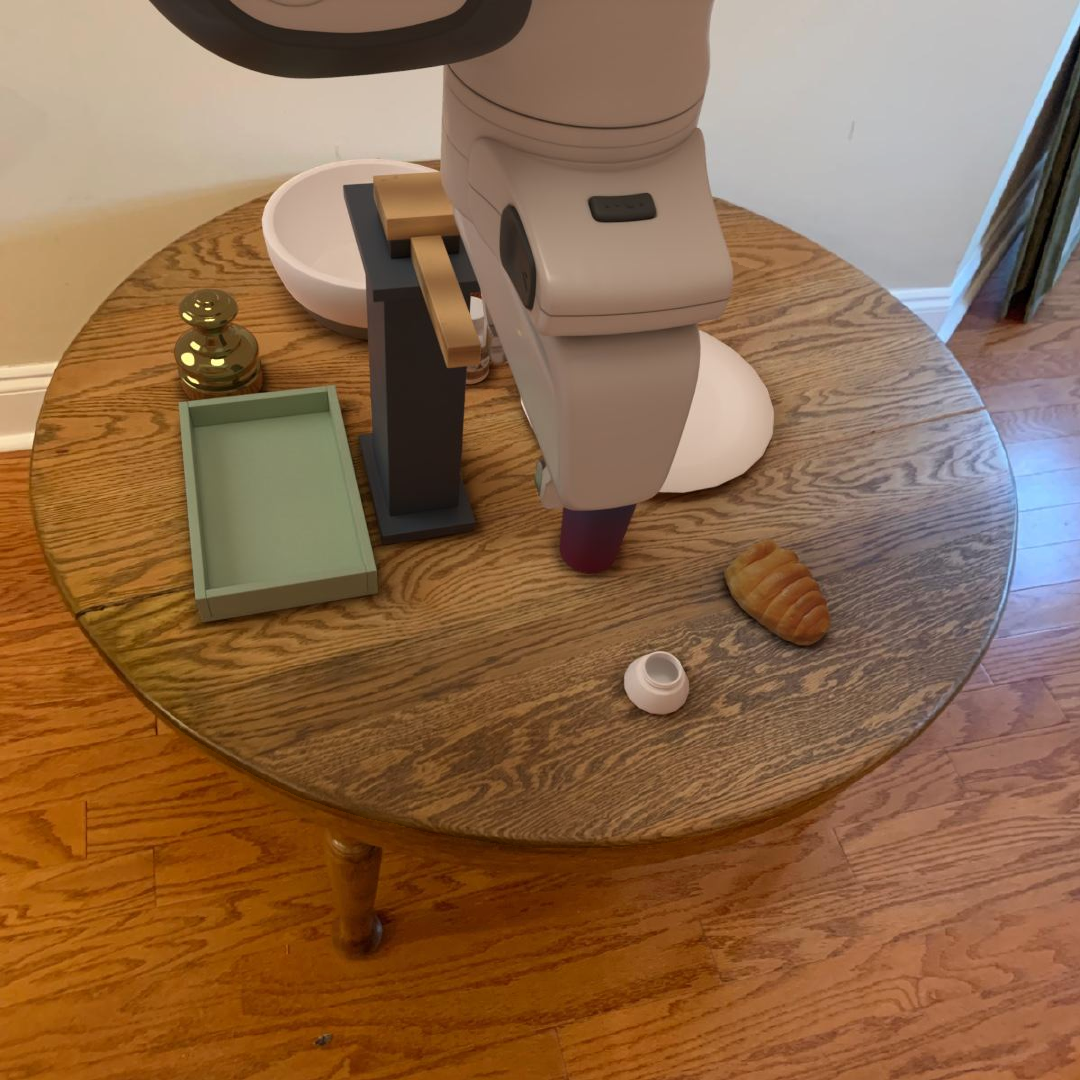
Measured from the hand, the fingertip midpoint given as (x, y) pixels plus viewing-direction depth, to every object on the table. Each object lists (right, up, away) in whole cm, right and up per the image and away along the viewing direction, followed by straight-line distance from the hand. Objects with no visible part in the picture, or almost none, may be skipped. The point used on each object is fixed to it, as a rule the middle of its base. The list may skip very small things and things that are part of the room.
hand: (528, 420), depth 45 cm
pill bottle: (-7, +11, +51) cm, 53 cm away
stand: (-11, -1, +41) cm, 42 cm away
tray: (-22, -3, +38) cm, 44 cm away
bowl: (-16, +21, +58) cm, 63 cm away
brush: (-6, +11, +17) cm, 21 cm away
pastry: (+20, -11, +37) cm, 44 cm away
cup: (+5, -7, +38) cm, 39 cm away
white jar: (+9, -17, +30) cm, 36 cm away
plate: (+11, +7, +50) cm, 52 cm away
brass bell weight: (-29, +9, +46) cm, 56 cm away
